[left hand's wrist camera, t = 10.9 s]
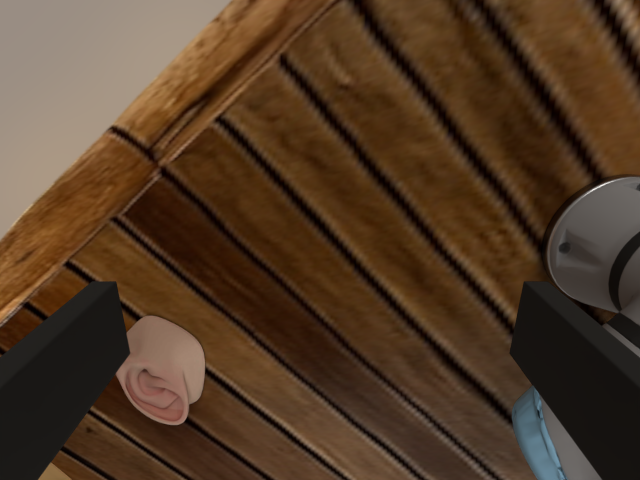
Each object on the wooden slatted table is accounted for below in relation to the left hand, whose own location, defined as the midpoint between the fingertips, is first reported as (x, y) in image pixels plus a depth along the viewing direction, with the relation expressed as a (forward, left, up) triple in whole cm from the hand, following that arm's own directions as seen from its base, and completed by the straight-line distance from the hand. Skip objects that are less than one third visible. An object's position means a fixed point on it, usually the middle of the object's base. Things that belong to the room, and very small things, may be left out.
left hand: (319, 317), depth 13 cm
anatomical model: (-4, +33, -31) cm, 46 cm away
